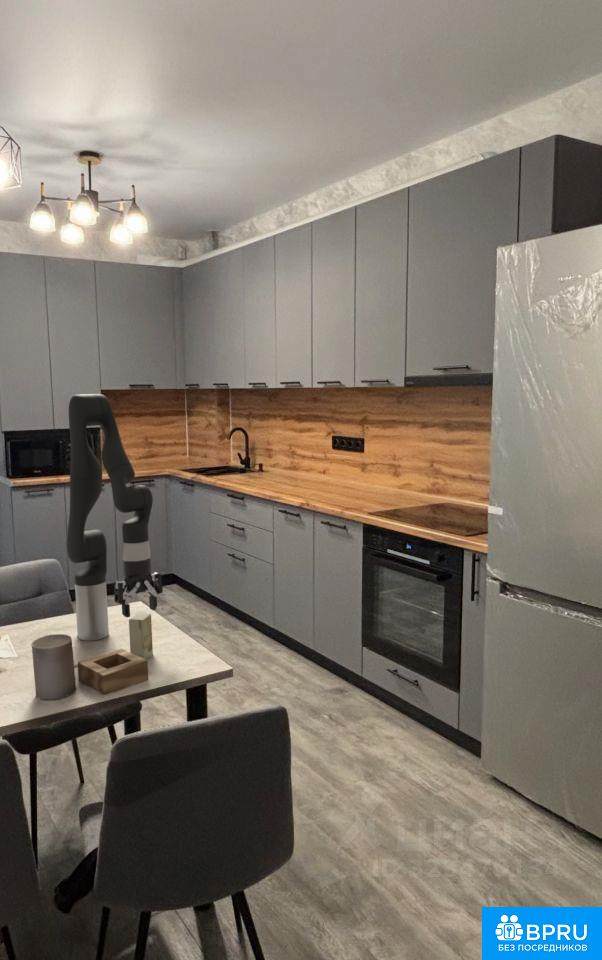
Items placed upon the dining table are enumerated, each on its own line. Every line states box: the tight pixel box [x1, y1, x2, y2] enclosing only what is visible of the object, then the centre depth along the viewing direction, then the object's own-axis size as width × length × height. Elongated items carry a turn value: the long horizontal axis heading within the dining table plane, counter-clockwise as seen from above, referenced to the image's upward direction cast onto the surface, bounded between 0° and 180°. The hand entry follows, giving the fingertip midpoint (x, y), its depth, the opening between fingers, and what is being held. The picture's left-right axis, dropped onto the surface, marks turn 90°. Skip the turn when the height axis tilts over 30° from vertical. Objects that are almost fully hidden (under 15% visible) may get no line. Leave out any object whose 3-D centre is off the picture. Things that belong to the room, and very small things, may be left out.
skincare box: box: [128, 612, 154, 660], centre depth 201 cm, size 6×4×12 cm
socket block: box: [76, 648, 149, 696], centre depth 186 cm, size 13×13×5 cm
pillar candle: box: [30, 633, 77, 701], centre depth 179 cm, size 10×10×15 cm
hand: (140, 613), depth 200 cm, fingers open, 8 cm apart
